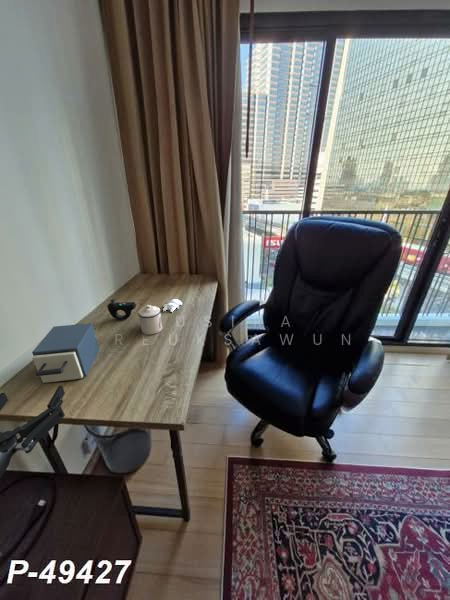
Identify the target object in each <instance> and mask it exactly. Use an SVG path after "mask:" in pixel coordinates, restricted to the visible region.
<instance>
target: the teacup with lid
mask: <svg viewBox="0 0 450 600" xmlns="http://www.w3.org/2000/svg"><path fill="white" fill-rule="evenodd" d="M161 311H162V310H161V309H160V308H159V306H155V305H151V304H146V305H145V306H144V307H142V308H140V309H139V310H138V312H137V316H138V317H139V323H140V329H141V332H142V333H143V334H144V335H149V336H150V335H156V334H158V333H160V332H161V331H162V330H163V323H162V314H161Z"/></svg>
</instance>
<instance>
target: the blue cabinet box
mask: <svg viewBox="0 0 450 600" xmlns="http://www.w3.org/2000/svg"><path fill="white" fill-rule="evenodd" d="M73 350H75V353H76V355H77V358H78V361H79V364H80V367H81V370H82V373H83V378H86V377H88V375H89V372H90V370H91V368H92V366H93V364H94V362H95V360H96V357H97V355H98V353H99V352H100V347H99V343H98V340H97V337H96V333H95V330H94V326H93V323H92V322H89V323H78V324H66V325H56V326H55V325H54V326H52V328H51V329H50V330H49V332H48V333H46V335H45V336H44V338H42V340H41V341H40V342H39V343H38V344H37V346H36V347H35V348H33V350H32V351H31V354H32V357H34V356H36V355H40V354H43V353H53V352H63V351H73Z"/></svg>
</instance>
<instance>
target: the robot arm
mask: <svg viewBox="0 0 450 600" xmlns="http://www.w3.org/2000/svg"><path fill="white" fill-rule="evenodd" d="M65 394H66V392H65V390H64V387H63V385H58V386H57V388H56V390H55V392H54V393H53V395H52V397H51V398H50V400H49V402H48V403H47V405H46V407H47V409H45V410H44V411H42V412H41V413H39V414H38V415H36V416H35V417H33V418H32V419H31V420H29V421H28V422H25V423H24V424H23V425H22V426H17V427H15V428H14V429H12V430H7V431H3V432H2V431H1V432H0V480H1V479H2V477H3V476H4V474H5V472H6V470H7V469H8V467H9V466H10V462H11V459H12V457H13V456H14V455H15V454H16V453H17V452H22V451H23V452H24V453H25V454H30V453H31V452H32V451H33V450H34V448H35V446H36V445H37V444H38V442H39V441H41V440H42V439H43V438H44V437H45V436H46V435H47V434H48V433H49V432H50V431H51V430H52V429H53V428H54V427H55V426H56V425H57V424H58V423H59V422H60V421H62V419H64V417H65V416H66V414H65V412H64V410H63V407H62V405H63V402H64V399H63V398H64V396H65ZM8 401H9V398H8V396H7V394H6V392H0V412H1V411H2V409H3V408H4V407H5V406H6V404H7V403H8ZM17 435H19V438H18V436H17Z"/></svg>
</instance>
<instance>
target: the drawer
mask: <svg viewBox="0 0 450 600" xmlns="http://www.w3.org/2000/svg"><path fill="white" fill-rule="evenodd" d="M32 361H33V363H34V365H35V368H36V371H35V372H34V376H35V377H40V379H41V381H42V383H43V384H45V383H53V382H54V383H55V382H61V381H62V382H63V381H71V380H80V379H83V378H84V377H83V373H82V370H81V367H80V364H79V361H78V358H77V355H76V353H75V350H73V351H63V352H53V353H43V354H40V355H36V356H32Z"/></svg>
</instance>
